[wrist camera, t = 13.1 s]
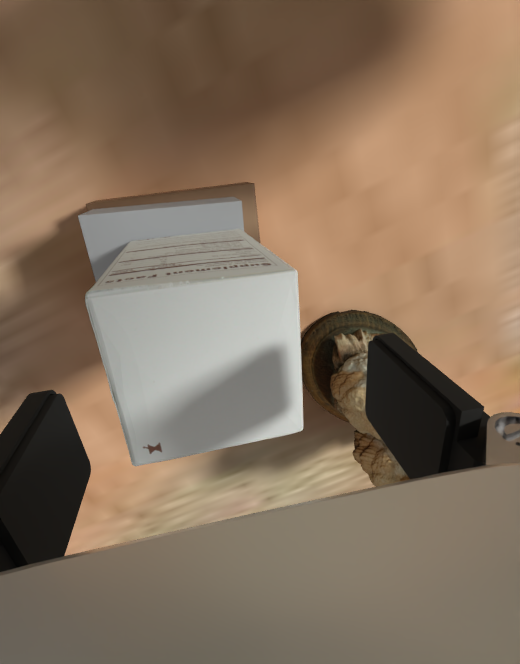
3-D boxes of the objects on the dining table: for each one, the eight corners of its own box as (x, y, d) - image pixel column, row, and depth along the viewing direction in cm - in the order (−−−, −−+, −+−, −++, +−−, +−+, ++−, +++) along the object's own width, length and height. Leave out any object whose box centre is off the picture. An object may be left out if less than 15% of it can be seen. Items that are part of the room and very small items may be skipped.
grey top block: (93, 209, 25) (77, 215, 22) (233, 196, 27) (241, 200, 23) (125, 336, 29) (117, 360, 26) (245, 320, 31) (253, 340, 27)
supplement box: (251, 327, 27) (307, 438, 15) (149, 342, 25) (126, 474, 14) (243, 225, 24) (304, 267, 12) (126, 236, 22) (75, 295, 11)
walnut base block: (97, 199, 29) (85, 204, 25) (245, 182, 30) (254, 183, 27) (135, 334, 34) (130, 354, 30) (260, 313, 35) (269, 329, 32)
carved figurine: (446, 371, 42) (595, 487, 27) (376, 439, 45) (475, 581, 29) (347, 282, 35) (474, 371, 20) (269, 369, 37) (328, 508, 22)
